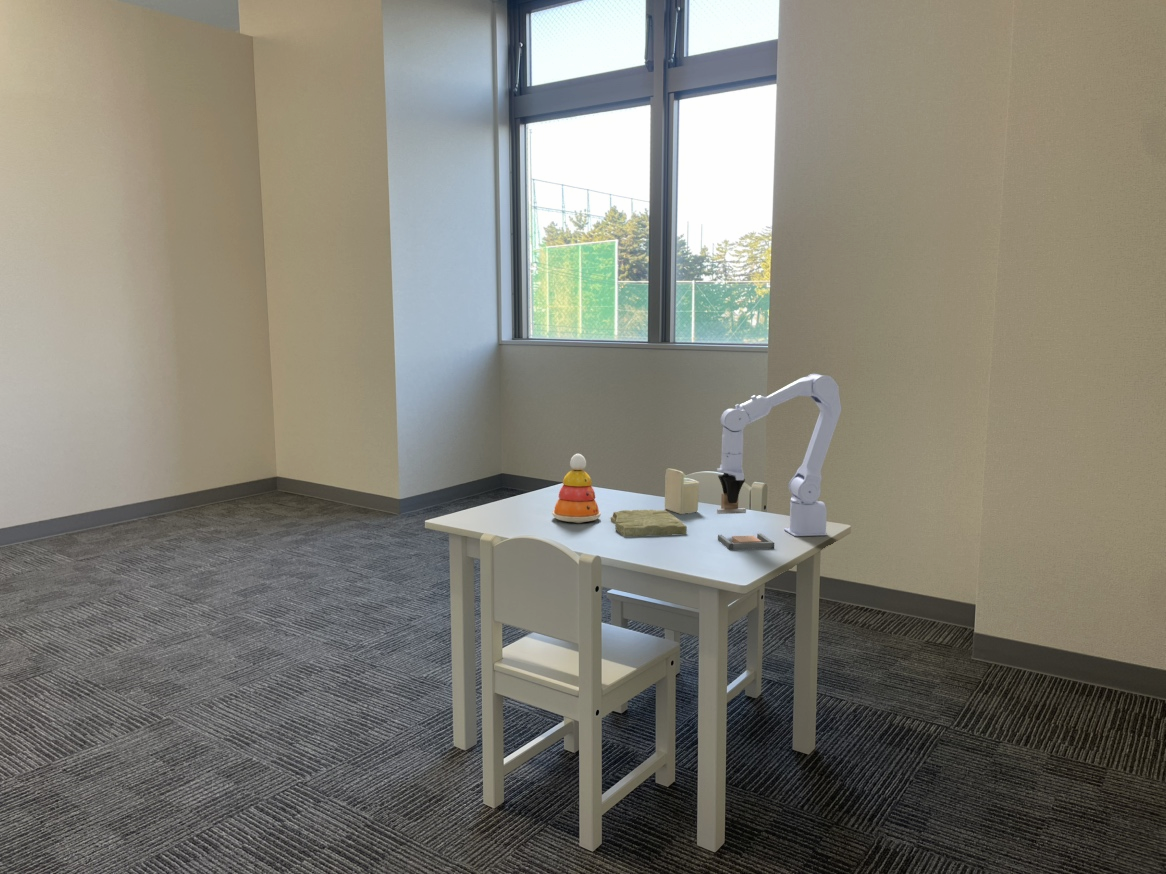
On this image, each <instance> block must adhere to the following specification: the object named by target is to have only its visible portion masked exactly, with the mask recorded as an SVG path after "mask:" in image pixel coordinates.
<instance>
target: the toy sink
mask: <svg viewBox="0 0 1166 874" xmlns="http://www.w3.org/2000/svg"><path fill="white" fill-rule="evenodd" d="M664 484H665V485H664V486H665V487H664V488H665V489H664V510H666V511H671V512H673V513H675V514H676V513H677V514H680V515H685V513H688V514H693V513H692V512H696V513H698V512H697V511H699V492H700V491H699V490H700V489H699V487H700V485H701V484H700V481H697V479H696V480H695V479H692V478H688V477H687V475H686V474H685V472H683V471H681V470H678V469H675V468H666V469H665V483H664Z"/></svg>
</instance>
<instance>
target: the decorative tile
mask: <svg viewBox="0 0 1166 874" xmlns="http://www.w3.org/2000/svg"><path fill="white" fill-rule="evenodd" d="M610 522H611V523H612V522H613V524H614V525H615V530H616V531H617V532H618V534H620V535H621V534H622V535H621V536H622V537H623V536H632V537H647V536H646V535H660V536H673V535H672V534H685V535H687V531H688V527H687V525H685V523H683V521H681V520H680V519H679V518H677V517H676V516H675V515H673V514H671V513H670V512H668V510H666V509H664V510H662V509H661V510H656V509H655V510H653V509H634V510H627V509H625V510H620V511H619V510H618V511H614V512H613V514H612V516H611V517H610Z"/></svg>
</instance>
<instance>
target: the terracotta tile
mask: <svg viewBox="0 0 1166 874" xmlns="http://www.w3.org/2000/svg"><path fill="white" fill-rule="evenodd" d="M732 542H733V543H751V542H762V541H761V540H759V539H758V538H757V536H755V535H731V543H732Z"/></svg>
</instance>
